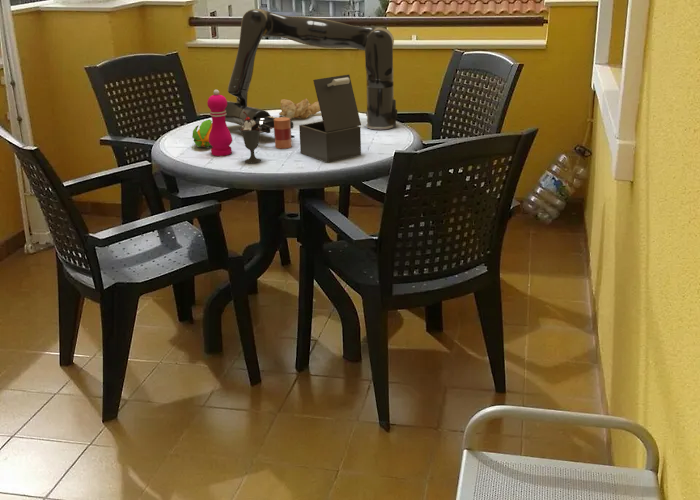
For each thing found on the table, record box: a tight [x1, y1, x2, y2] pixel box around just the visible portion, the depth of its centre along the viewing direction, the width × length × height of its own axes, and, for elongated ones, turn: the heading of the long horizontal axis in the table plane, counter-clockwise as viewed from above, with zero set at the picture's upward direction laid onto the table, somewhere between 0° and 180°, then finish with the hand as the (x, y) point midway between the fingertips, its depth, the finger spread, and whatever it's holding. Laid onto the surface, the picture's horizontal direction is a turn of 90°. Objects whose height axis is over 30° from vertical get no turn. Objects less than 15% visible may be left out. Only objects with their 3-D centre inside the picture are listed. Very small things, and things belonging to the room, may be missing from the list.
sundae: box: [238, 112, 262, 164], centre depth 242 cm, size 7×7×15 cm
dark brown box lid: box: [313, 74, 362, 132], centre depth 239 cm, size 16×13×6 cm
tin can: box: [273, 116, 293, 150], centre depth 258 cm, size 5×5×9 cm
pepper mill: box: [206, 89, 233, 157], centre depth 250 cm, size 7×7×20 cm
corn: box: [191, 119, 212, 148], centre depth 265 cm, size 7×8×20 cm
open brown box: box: [298, 120, 362, 163], centre depth 249 cm, size 15×13×9 cm
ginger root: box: [278, 98, 321, 120], centre depth 299 cm, size 16×16×8 cm
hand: (280, 127), depth 259 cm, fingers open, 8 cm apart
